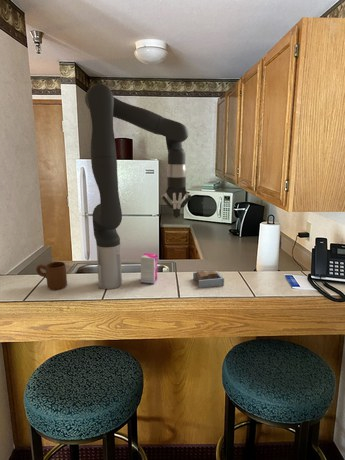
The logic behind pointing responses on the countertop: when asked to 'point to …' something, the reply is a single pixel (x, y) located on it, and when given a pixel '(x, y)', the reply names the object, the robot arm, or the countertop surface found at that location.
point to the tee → (206, 275)
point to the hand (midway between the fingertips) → (176, 217)
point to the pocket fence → (210, 281)
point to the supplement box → (148, 268)
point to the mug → (54, 275)
